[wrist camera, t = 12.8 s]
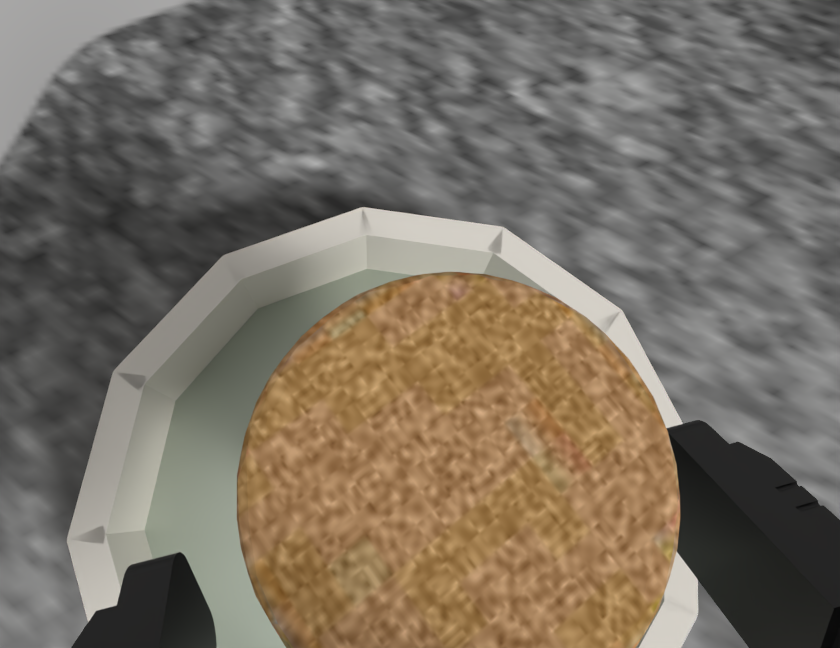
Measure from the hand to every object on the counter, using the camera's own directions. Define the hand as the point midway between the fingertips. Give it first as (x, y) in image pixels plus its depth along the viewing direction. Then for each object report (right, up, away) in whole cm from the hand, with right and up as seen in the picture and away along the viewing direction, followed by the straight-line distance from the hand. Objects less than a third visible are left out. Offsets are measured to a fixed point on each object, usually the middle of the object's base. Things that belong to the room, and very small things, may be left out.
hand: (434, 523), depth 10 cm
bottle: (-1, -3, +11) cm, 11 cm away
